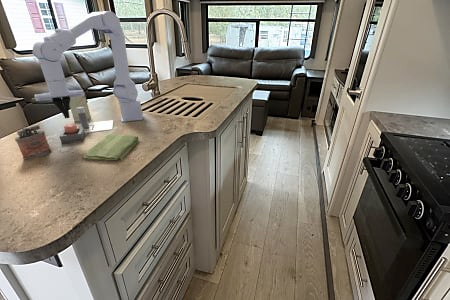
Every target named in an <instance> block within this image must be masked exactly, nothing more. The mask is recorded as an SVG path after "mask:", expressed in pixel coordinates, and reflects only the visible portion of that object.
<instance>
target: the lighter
mask: <svg viewBox="0 0 450 300" xmlns="http://www.w3.org/2000/svg"><path fill="white" fill-rule="evenodd" d="M40 129H41V126H40V125H39V124H35V125H32V126H29V127H25V126H24V127H22V129H20V130H16V134H17V135H18V136H17V137H15V138H14V140H15V142H16V144H17V145H18V148H19V150H20V152H21V155H22V160H23V161H24V162H25V161H26V162H27V161H31V160H34V159H37V158H40V157H43V156H46V155H49V154H50V153H52V148H51V147H50V145H49V143H48V140H47V137H46V135H45V134H46V132H45V130H40Z"/></svg>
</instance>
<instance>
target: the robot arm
mask: <svg viewBox="0 0 450 300" xmlns="http://www.w3.org/2000/svg"><path fill="white" fill-rule="evenodd" d="M92 29H94V30H97V32H101V33H102V34H104V35H105V36H106V37H107V38H109V39H110V44H111V50H112V58H113V59H112V60H113V66H114V72H115V79H114V81H113V89H112V94H113V95H114V97H115V98H116V100H117V101H118V105H119V111H120V114H121V117H120V119H121V120H120V121H121V123H126V122H133V121H141V120H144V117H143V115H144V113H143V110H142V105H141V100H140V98H138V94H139V93H138V88H137V87H136V83H135V81H133V80H132V79H131V78H130V70H129V61H128V55H127V47H126V37H125V33H124V31H123V28H122V26H121V20H120V17H118V16H117V14H116V13H114V12H113V11H112V10H106V11H92V12H90V13H88V14H86V15H85V16H84V17H83V18H81V19H80V20H79V21H77V22H76V23H74V24H73V25H72V26H70V27H69V28H68V29H65V28H62V27H61V28H56V29H54V33H52V34H51V35H49V36H44V37H43V38H42V39H43V41H36V42H35V43H34V44H33V47H32V51H31V53H32V55H33V56H34V57H35V58H36V59H37V60H38V62H39V65H40V68H41V71H42V74H43V77H44V80H45V83H46V86H47V89H48V92H44V93H38V94H37V93H36V94H34V99H35V102H40V101H48V100H52V103H53V104H54V105H55V107H57V108H58V110H59V111H60V112H61V113H62V116H63V117H64V119H69V118H70V117H71V116H70V105H69V104H70V97H76V96H84V93H85V92H84V90H83V89H76V90H69V87H68V84H67V81H66V77H65V74H64V71H63V66H62V64H61V58H62V54H64V53H65V52H66V51H68V50H69V49H70V48H72V47H74V46H75V45H76V43H77V39H78V38H79V37H81V36H82V35H83V34H86V33H88V32H89V31H91V30H92Z"/></svg>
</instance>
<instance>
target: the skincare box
mask: <svg viewBox="0 0 450 300" xmlns="http://www.w3.org/2000/svg"><path fill="white" fill-rule="evenodd" d="M83 93H84V96H76V97H70V104H69V109H70V111H71V114H72V118H73V121H74V122H80V119H79V116H78V113H77V109H76V108H77V107H84V109H85V113H86V117H87V120H90V119H92V117H91V116H92V115H91V112H90V108H89V104H88V101H87V97H86V94H85V92H83Z"/></svg>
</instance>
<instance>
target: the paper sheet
mask: <svg viewBox="0 0 450 300" xmlns="http://www.w3.org/2000/svg"><path fill="white" fill-rule="evenodd" d="M88 124H89V129H84V131H85V134H89V133H90V134H91V133H97V132H104V131H112V130H113V129H114V119H111V120H102V121H93V122H88ZM76 126H77V128H82V126H81V123H76Z"/></svg>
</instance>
